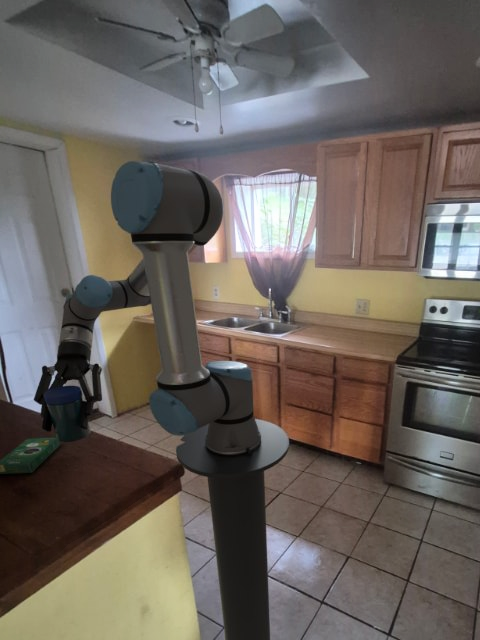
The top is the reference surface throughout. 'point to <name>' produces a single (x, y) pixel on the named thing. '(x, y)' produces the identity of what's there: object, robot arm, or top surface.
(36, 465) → the coffee box
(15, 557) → the top surface
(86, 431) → the jar
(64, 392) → the jar lid
